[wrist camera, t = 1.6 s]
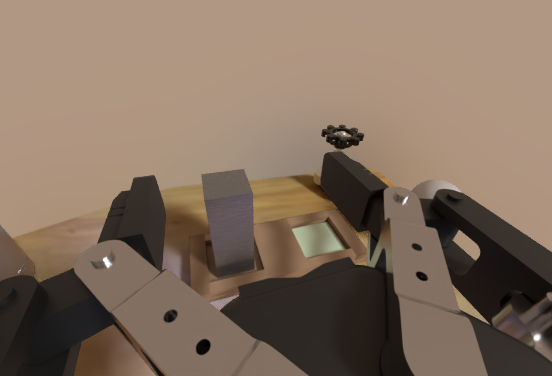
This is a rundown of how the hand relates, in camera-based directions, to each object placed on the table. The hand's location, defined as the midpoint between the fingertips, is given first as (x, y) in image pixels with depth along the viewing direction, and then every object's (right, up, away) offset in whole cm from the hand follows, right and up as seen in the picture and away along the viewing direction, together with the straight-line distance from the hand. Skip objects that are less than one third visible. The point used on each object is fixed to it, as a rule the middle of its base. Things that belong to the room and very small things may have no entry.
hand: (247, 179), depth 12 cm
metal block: (-4, -10, +20) cm, 22 cm away
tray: (+2, -9, +22) cm, 24 cm away
